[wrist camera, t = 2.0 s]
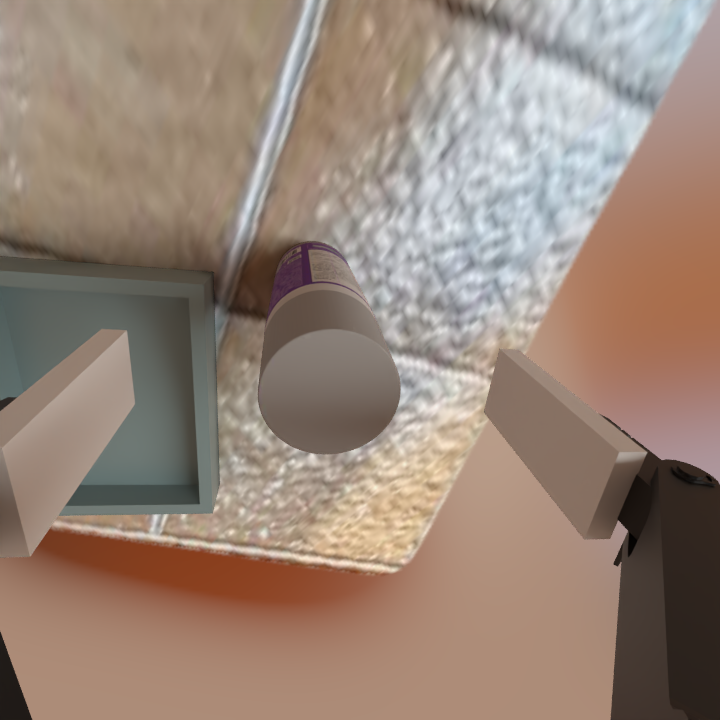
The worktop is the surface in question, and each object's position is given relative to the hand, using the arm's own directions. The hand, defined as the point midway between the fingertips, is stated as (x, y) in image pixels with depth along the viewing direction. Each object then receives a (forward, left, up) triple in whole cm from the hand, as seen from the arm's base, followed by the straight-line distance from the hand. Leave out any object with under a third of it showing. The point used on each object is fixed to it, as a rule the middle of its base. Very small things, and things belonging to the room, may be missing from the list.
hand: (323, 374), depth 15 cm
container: (0, 0, -13) cm, 13 cm away
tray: (+8, -12, -13) cm, 19 cm away
